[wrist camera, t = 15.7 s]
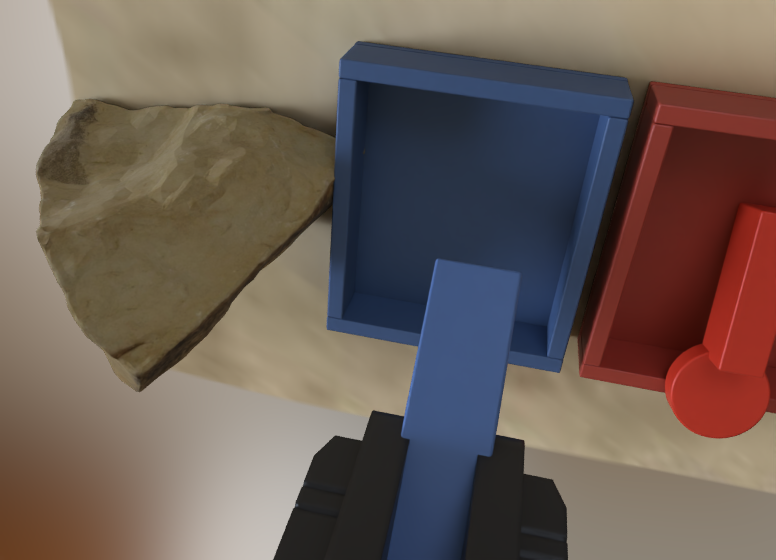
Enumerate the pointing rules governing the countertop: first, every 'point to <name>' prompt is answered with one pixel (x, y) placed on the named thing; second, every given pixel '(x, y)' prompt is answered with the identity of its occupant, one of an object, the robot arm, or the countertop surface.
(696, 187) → the red tray
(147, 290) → the rock
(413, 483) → the blue spoon
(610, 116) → the blue tray
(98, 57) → the countertop surface
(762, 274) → the red spoon
